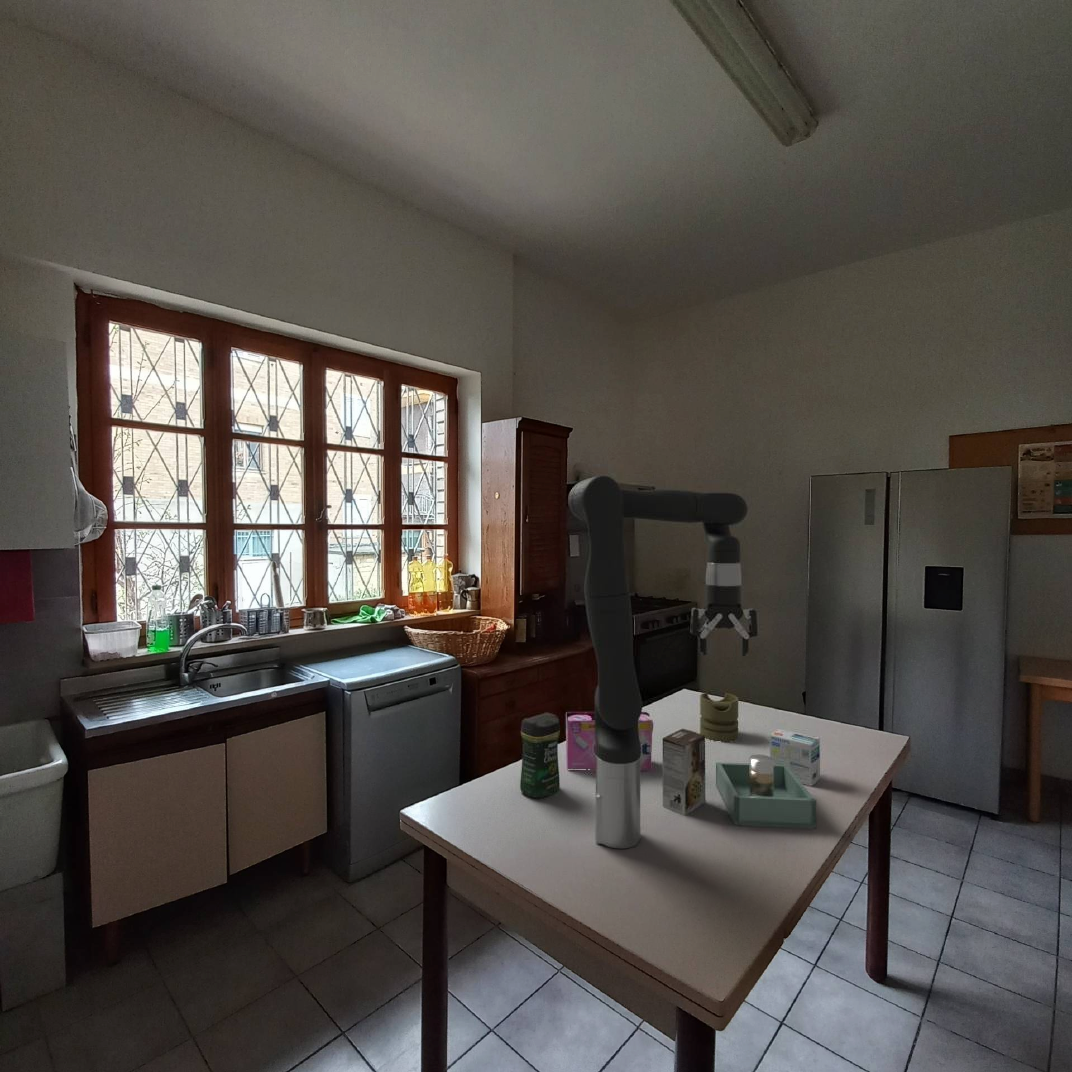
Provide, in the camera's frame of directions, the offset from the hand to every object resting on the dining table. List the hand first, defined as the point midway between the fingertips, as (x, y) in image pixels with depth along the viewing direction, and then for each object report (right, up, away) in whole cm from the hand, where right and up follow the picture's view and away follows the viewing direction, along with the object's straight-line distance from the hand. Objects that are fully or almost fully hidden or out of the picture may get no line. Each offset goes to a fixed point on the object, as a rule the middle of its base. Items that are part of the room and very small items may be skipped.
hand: (723, 654), depth 131 cm
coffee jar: (-41, -36, +12) cm, 56 cm away
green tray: (+10, -36, +5) cm, 38 cm away
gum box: (-23, -36, +28) cm, 51 cm away
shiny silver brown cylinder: (+10, -35, +4) cm, 37 cm away
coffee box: (-8, -36, +5) cm, 37 cm away
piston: (+15, -36, +50) cm, 63 cm away
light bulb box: (+25, -36, +20) cm, 48 cm away
